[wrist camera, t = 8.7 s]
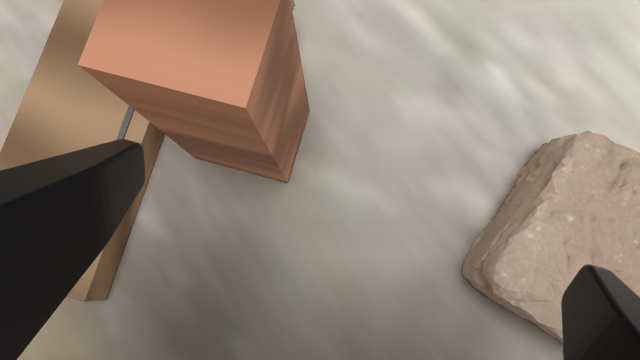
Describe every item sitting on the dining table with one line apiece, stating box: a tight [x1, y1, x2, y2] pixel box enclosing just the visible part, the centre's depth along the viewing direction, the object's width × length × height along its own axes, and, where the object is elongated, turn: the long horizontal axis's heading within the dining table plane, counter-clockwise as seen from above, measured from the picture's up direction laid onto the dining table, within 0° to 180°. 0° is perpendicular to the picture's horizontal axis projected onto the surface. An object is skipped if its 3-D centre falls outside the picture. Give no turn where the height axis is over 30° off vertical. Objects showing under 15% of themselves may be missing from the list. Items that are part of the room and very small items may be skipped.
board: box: [0, 0, 165, 301], centre depth 24 cm, size 22×6×2 cm, turn 165°
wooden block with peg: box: [78, 0, 310, 183], centre depth 19 cm, size 8×5×11 cm, turn 164°
